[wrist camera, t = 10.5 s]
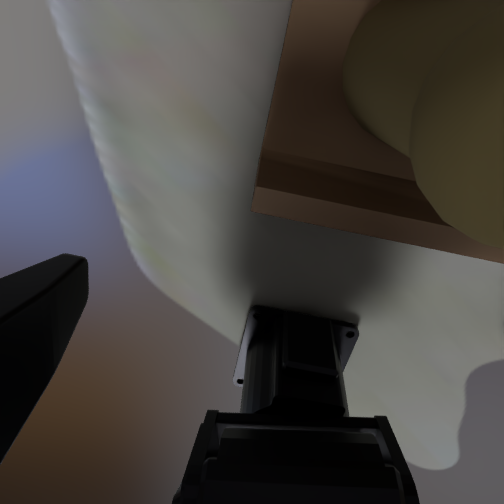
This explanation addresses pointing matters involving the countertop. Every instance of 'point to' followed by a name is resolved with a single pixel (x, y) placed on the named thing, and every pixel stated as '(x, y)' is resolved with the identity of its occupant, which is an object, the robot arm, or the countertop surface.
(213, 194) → the countertop surface
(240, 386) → the robot arm
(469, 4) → the olive bottle gourd
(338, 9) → the rack
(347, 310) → the countertop surface
